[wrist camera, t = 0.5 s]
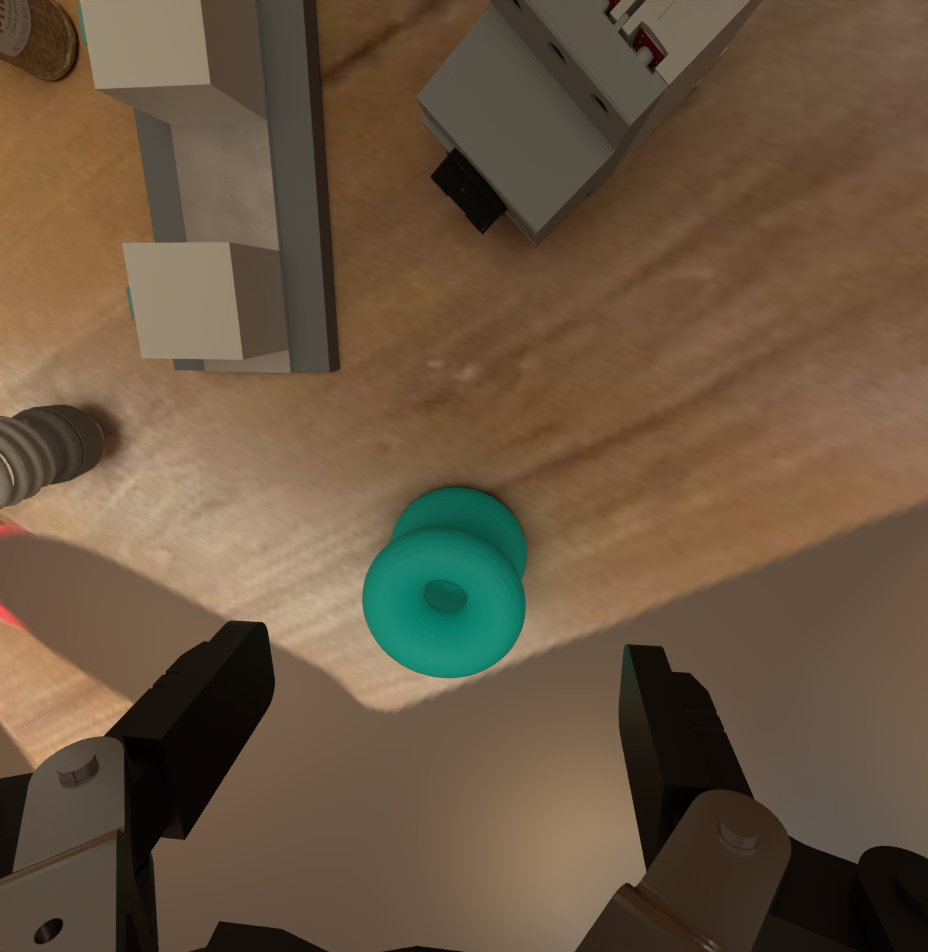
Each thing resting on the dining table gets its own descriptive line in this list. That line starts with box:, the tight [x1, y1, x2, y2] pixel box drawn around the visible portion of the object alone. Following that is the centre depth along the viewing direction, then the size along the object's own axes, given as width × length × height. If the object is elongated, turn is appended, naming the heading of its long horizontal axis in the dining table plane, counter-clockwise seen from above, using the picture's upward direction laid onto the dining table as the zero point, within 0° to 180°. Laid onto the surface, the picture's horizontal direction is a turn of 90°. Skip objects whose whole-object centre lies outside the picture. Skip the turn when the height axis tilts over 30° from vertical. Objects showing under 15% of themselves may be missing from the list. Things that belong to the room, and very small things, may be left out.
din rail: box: [171, 0, 294, 373], centre depth 34 cm, size 22×6×1 cm, turn 0°
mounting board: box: [134, 0, 340, 373], centre depth 35 cm, size 22×11×2 cm, turn 0°
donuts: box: [362, 487, 527, 678], centre depth 37 cm, size 10×10×10 cm
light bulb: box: [0, 405, 104, 509], centre depth 37 cm, size 6×6×12 cm
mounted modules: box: [77, 0, 288, 360], centre depth 31 cm, size 19×7×6 cm, turn 0°
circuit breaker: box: [416, 0, 762, 247], centre depth 26 cm, size 8×14×15 cm, turn 135°
